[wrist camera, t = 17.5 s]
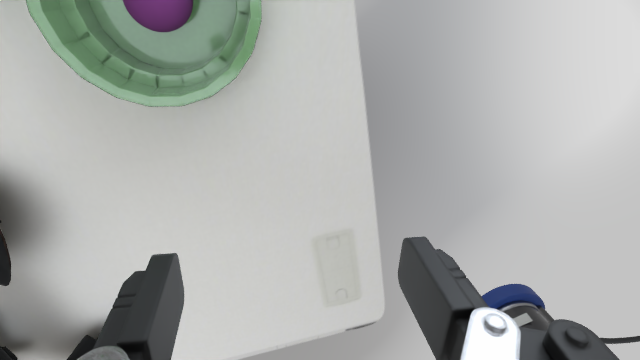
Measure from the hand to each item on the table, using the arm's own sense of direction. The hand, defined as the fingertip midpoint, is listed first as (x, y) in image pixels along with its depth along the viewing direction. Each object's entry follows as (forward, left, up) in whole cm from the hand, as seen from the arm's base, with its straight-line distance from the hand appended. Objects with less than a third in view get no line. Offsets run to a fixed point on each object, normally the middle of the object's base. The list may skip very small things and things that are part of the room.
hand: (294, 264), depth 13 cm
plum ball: (+8, -8, -21) cm, 24 cm away
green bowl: (+8, -8, -24) cm, 27 cm away
